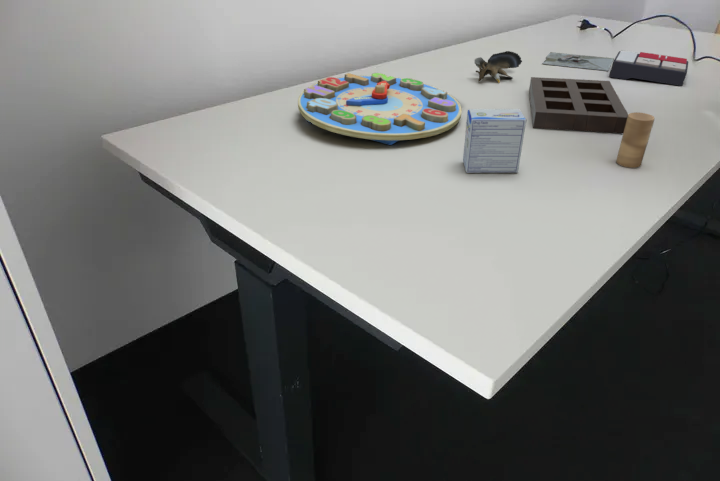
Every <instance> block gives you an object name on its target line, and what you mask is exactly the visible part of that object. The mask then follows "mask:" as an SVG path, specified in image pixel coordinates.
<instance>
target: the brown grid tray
mask: <svg viewBox="0 0 720 481" xmlns="http://www.w3.org/2000/svg"><path fill="white" fill-rule="evenodd" d="M528 93H529V94H528V96H529V104H530V112H531V122H532V129H544V130H559V131H576V132H588V133H589V132H591V133H593V132H594V133H606V134H608V133H609V134H620V135H621V134H622V135H623V133H624V129H625V125H626V121H627V117H628V114H629V112H627V109H626V108H625V106H624V104H623V103H622V100H621V98H620V97H619V95H618V94H617V92H616V90H615V88H614V86H613V85H612V83H611V81H610V80H598V79H578V78H577V79H576V78H560V77H559V78H557V77H536V76H531V77H530V81H529V86H528Z"/></svg>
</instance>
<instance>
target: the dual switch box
mask: <svg viewBox="0 0 720 481" xmlns="http://www.w3.org/2000/svg"><path fill="white" fill-rule="evenodd" d="M688 67H689V61H688V58H684V57H677V56H671V55H665V54H657V53H651V52H645V51H644V52H643V51H640V52H637V51H632V50H624V49H621V50H620V51H618V52H617V53H616V56H615V57H614V60H613V62H612V64H611V67H610V71H609V74H608V75H609V76H608V77H609V78H614V79H620V80H629V79H637V80H643V81H649V82H655V83H660V84H661V83H662V84H665V85H673V86H677V87H678V86H679V87H682V86H683V84H684V82H685V79H686V76H687V74H688V70H689V68H688Z"/></svg>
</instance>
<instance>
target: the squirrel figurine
mask: <svg viewBox="0 0 720 481" xmlns="http://www.w3.org/2000/svg"><path fill="white" fill-rule="evenodd" d="M473 61H474V64H475V66H476V67H477V68H478V69H479V70H475V73H477V74H478V80H477V82H478V83H480V82H481V81H482V80H483V79H484V78H485V77H486V76H487V75H490V76H491V77H492V78H494V79H495V81H497V83H498V84H500V83H501V77H500V75H501V76H505V77H508V78H509V79H514V78H513V76H510V75H508V74H507V72H506V71H505V70H507V69H515V68H519V67H520V66H521V64H522V63H523V60H522V58H521V56H520V55H519V53H516V52H514V51H511V50H505V51H502V52H498V53H493V54H492V55H490V57H489V58H488V59H487V61H486V60H484V58H483V57H481V56H480V57H476V58H474V60H473Z"/></svg>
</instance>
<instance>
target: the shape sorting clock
mask: <svg viewBox="0 0 720 481" xmlns="http://www.w3.org/2000/svg"><path fill="white" fill-rule="evenodd" d="M297 109H298V111H299V113H300V114H301V116H302V117H303V118H304V119H305V120H306V122H307V121H308V122H311V123H312V124H311V123H310V124H311V125H314V126H316V127H318V128H321V129H323V130H325V131H328V132H331V133H334V134H335V133H336V134H338V135H342V136H347V137H351V138H356V139H357V138H358V139H365V140H370V141H373V142H377V143H380V144H385V145H389V146H392V145H394V144H396V143H398V142H400V141H408V140H417V139H424V138H425V139H426V138H430V137H434V136H438V135H439V134H443V133H445V132H447V131H449V130H451V129H453V128H454V127H455V126H457V124H458V123H459V122H460V120H461V117H462V112H463V109H462V105H461V103H460V102H459V101H458V99H457V98H455V97H454V96H453V95H452V94H450V93H449V92H447V91H445V90H443V89H441V88H439V87H436V86H434V85H431V84H427V83H424V81H421V80H418V79H414V78H411V77H410V78H409V77H396V76H392V75H389V76H387V75H386V74H385V73H381V72H373V73H371V74H370V75H357V74H354V73H351V72H347V73H345V74H344V76H340V77H333V76H327V77H324V78H321V79H318V80H317V82H316V83H313V84H311V85H310V86H308V87H306V88H304V89H303V91H302V92H301V93H300V94H299V95H298V98H297ZM308 122H307V123H308Z"/></svg>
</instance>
